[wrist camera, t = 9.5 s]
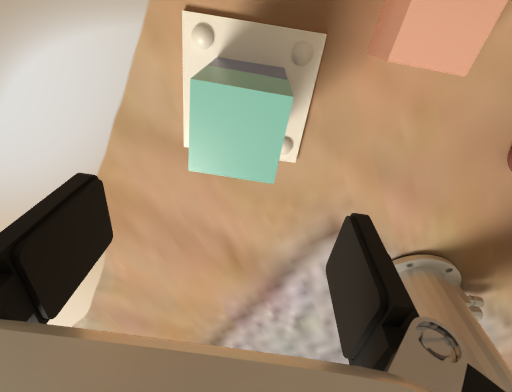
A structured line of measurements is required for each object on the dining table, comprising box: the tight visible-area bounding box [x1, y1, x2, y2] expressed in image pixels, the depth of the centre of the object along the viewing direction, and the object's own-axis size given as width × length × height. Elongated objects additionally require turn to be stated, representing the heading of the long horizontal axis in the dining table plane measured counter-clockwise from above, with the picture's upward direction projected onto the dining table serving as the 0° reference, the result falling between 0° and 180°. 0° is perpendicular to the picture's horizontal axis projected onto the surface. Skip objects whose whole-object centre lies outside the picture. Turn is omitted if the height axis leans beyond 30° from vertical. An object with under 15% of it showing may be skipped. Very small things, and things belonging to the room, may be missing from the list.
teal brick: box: [188, 65, 294, 184], centre depth 19 cm, size 6×6×5 cm
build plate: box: [182, 10, 327, 163], centre depth 24 cm, size 12×12×6 cm
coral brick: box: [367, 0, 508, 77], centre depth 20 cm, size 6×6×5 cm
